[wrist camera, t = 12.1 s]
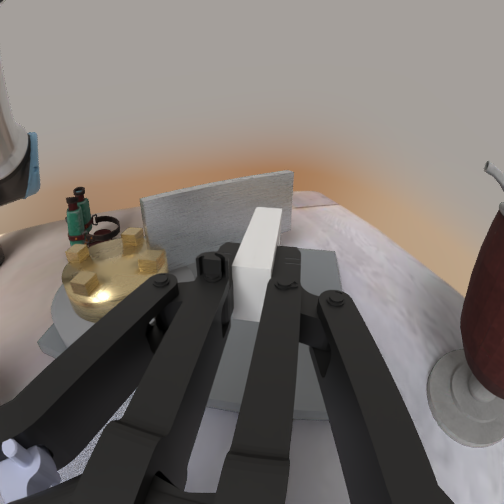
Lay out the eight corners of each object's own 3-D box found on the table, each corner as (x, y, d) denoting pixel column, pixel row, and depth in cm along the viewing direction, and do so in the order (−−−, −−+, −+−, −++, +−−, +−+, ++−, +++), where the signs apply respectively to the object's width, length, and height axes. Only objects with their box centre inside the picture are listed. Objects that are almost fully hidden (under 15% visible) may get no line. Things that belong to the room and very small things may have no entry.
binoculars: (114, 196, 38) (54, 200, 35) (119, 259, 43) (64, 262, 39) (121, 182, 45) (70, 185, 42) (124, 236, 50) (76, 239, 47)
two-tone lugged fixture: (79, 339, 20) (44, 252, 16) (67, 278, 27) (47, 211, 24) (317, 245, 35) (324, 180, 31) (261, 218, 43) (262, 163, 39)
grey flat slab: (42, 352, 23) (25, 321, 21) (141, 243, 46) (137, 219, 43) (351, 420, 19) (368, 391, 17) (333, 260, 41) (337, 232, 39)
